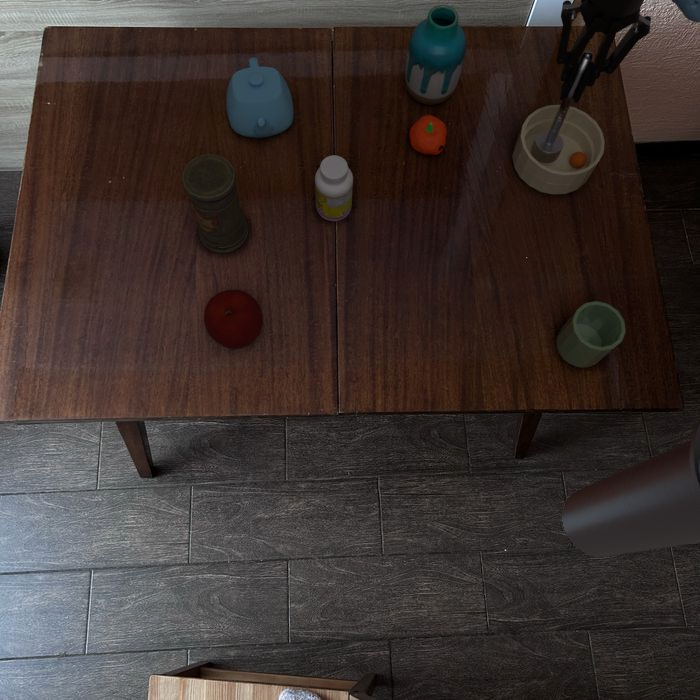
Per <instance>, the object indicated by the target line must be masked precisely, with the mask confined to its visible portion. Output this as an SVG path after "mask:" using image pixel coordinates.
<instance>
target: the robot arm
mask: <svg viewBox="0 0 700 700" xmlns="http://www.w3.org/2000/svg"><path fill="white" fill-rule="evenodd" d="M670 1H671V3H673V4H674V5H676V7H677V8H678V9H679V11H680V12H681V13H682V14H683V16H684V17H685V18H686V19H687V20H688V21H690V22H693V23H700V0H670ZM644 2H645V0H580V1H578V2H573V3H572V2H571V0H564V1H563V2H562V6H561V7H562V8H561V12H560V18H561V23H562V29H561V33H560V40H559V45H558V50H557V56H556V64H557V65H563V67H562V70H561V72H560V73H561V75H560V81H561V82H563V83H562V85H561V89H560V95H559V100H565V97H566V95H567V93H568V91H569V89H570V87H571V84H572V82H573V80H574V78H575V76H576V74H577V70H578V63H579V61H580V59H581V56H582V54H583V52H585V51H586V48H587V46H588V45H589V43H590V41H591V40H592V39H593V37H594V36H595V34H596V33H602V34H603V36H602V39H601V41H600V43H599V46H598V48H597V51H596V54H595V57H594V60H593V61H592V60H591V61H590V64H589V66H588V68H587V70H586V72H585V75H584V77H583V79H582V81H581V84H580V86H579V88H578V90H577V93H576V95H575V97H574V99H573V101H572V103H575V104H579V102H580V100H581V97H582V96H583V93H584V91H585V89H586V88H587V87H588V88H589V87H590V88H592V87H593V86H595V85H594V84H595V83H596V80H597V79H599V78H600V77H601V73H606V74H607V75H611V74H613V73H614V72H615V71H616V70H617V68H618V67H619V66H620V65H621V64H622V62H623V61H624V59H625V58H626V57H627V56H628V55H629V53H630V52H631V51H632V49H633V48H634V46H635V45H636V44H637V43H638V42H639V41H640V40H641V39H643V38H645V37H646V36H647V35H649V34H650V32H651V23H652V17H651V16H650V15H645V16H643V15H642V14H641V8H642V6H643V4H644ZM579 13H580V14H581V15H580V16H581V17H582V20H583V22H584V25H583V27H582V29H581V30H580V33H579V35H578V36H577V38H576V40H575V42H574V44H573V45H572V47H571V49H569V50H568V46H569V41H570V36H571V31H572V27H573V22H574V21H575V20H576V19H577V17H578V14H579ZM628 27H630V28H629V29H628V31H627V32H626V33H625V34H624V36H623V37H622V39H621V40H620V41H619V42H618V44H617V45H616V46H615V48H614V49H613V51H612V52H611V53H610V49H611V47H612V45H613V44H614V42H615V38H616V35H617V33H619V32H621V31H623V30H624V29H626V28H628ZM609 53H610V54H609ZM608 54H609V56H608ZM699 474H700V459H699Z"/></svg>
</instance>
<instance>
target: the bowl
mask: <svg viewBox="0 0 700 700" xmlns="http://www.w3.org/2000/svg"><path fill="white" fill-rule="evenodd" d="M560 105H561V104H550V105H549V104H548V105H546V106H542V107H540V108H537V109H536V110H534V111H533V112H532V113H530V114H529V115H527V117H526V119H525V120H524V122H523V124H522V125H521V128H520V130H519V132H518V136H517V138H516V141H515V143H514V145H513V150H512V155H511V158H512V162H513V163H512V164H513V168H514V170H515V172H516V173H517V175H518V176H519V178H520V179H521V180H522V181H523V182H524V183H525V184H526V185H528V186H529V187H530V188H533V189H534V190H535V191H538V192H540V193H544V194H548V195H566V194H569V193H572V192H575V191H577V190H579V189H580V188H581V187H582V186H584V185H585V184H586V183H587V182H588V180H589V178H590V177H591V175H592V173H593V171H595V169H596V167H597V165H598V164H599V162H600V160H601V158H602V157H603V155H604V152H605V144H606V142H605V138H604V133H603V131H602V129H601V128H600V126H599V124H598V122H597V121H596V120H595V119H594V118H592V116H591V115H589V114H588V113H587V112H585V111H583V110H581V109H578V108H577V107H574V106H572V105H571V106H570V108H569V110H568V113H567V115H566V117H565V119H564V121H563V124H562V126H561V128H560V130H559V133H558V135H560V136H561V138H562V139H563V142H564V145H563V148H562V150H561V152H560V155H559V157H558V159H557V160H556V161H554V162H552V163H542V162H539V161H538V160H536V159H535V158H534V157H533V156H532V153H531V148H532V145H533V143H534V140H535V138H536V136H537V135H538V134H539V133H540V132H542V131H550V128H551V126H552V124H553V121H554V119H555V117H556V114H557V112H558V110H559V107H560ZM575 152H583V153H584V154H585V155H586V158H587V160H586V163H585V165H584V166H582V167H581V168H575V167H573V166H572V165H571V164H570V157H571V155H572V154H573V153H575Z"/></svg>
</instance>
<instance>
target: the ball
mask: <svg viewBox="0 0 700 700" xmlns="http://www.w3.org/2000/svg"><path fill="white" fill-rule="evenodd" d="M586 160H587V158H586V155H585V154H584V153H583V152H575V153H573V154H572V155H571V157H570V164H571V165H572V166H573V167H575V168H581V167H582V166H584V165H585V163H586Z"/></svg>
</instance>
